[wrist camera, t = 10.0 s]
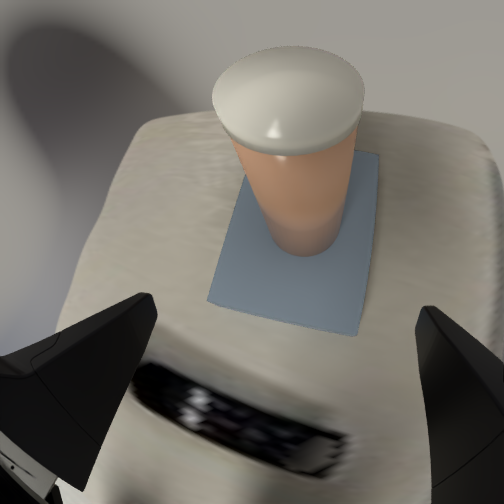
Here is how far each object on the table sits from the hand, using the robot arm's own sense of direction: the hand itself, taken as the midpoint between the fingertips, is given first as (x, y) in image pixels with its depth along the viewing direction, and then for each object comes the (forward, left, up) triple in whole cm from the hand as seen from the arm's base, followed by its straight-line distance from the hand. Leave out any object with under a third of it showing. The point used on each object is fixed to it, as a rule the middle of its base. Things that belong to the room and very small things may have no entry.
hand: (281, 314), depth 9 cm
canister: (+8, +1, -11) cm, 13 cm away
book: (+8, +1, -14) cm, 16 cm away
